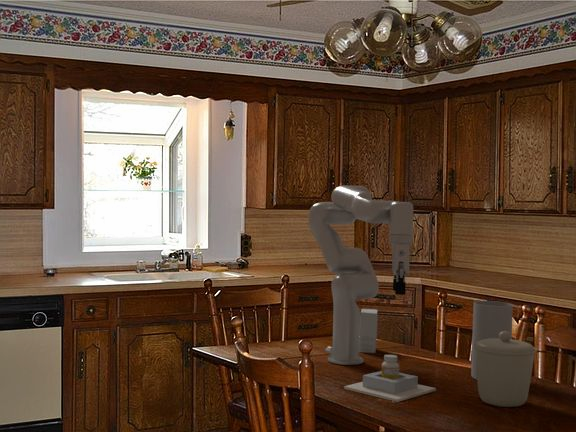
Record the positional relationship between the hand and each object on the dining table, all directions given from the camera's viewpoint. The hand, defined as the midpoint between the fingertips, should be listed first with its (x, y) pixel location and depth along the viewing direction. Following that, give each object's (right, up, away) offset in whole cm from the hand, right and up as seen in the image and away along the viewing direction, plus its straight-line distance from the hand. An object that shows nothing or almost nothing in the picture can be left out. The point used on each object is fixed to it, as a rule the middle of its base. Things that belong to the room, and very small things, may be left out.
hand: (399, 292), depth 256 cm
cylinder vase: (+31, -29, +5) cm, 43 cm away
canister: (+27, -30, -25) cm, 47 cm away
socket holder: (-5, -29, -13) cm, 32 cm away
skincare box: (-5, -27, +47) cm, 54 cm away
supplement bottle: (-5, -28, -13) cm, 31 cm away
